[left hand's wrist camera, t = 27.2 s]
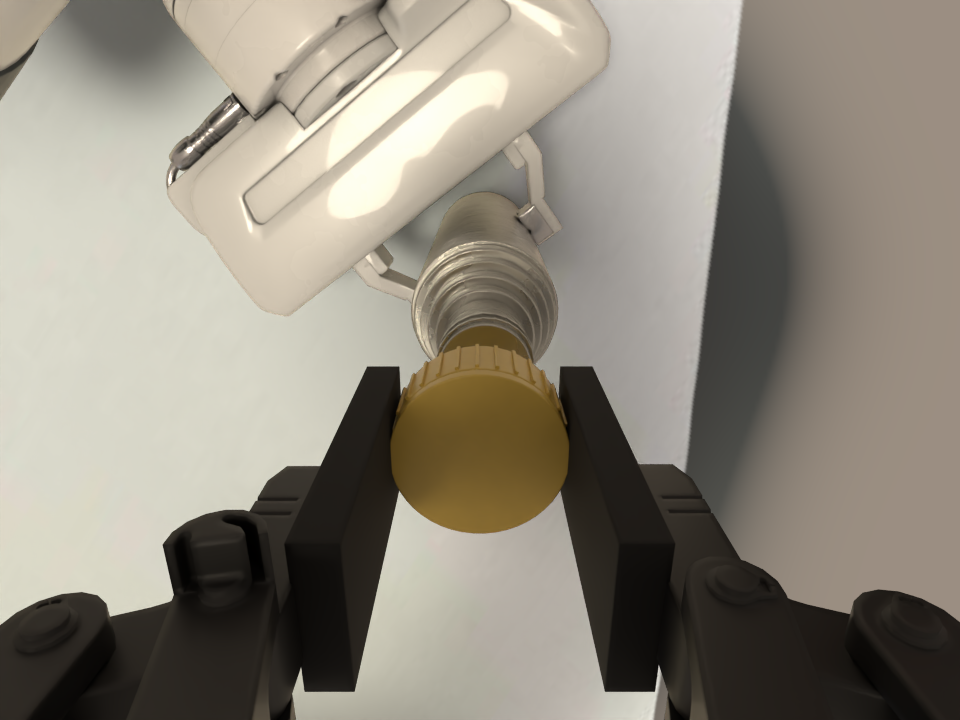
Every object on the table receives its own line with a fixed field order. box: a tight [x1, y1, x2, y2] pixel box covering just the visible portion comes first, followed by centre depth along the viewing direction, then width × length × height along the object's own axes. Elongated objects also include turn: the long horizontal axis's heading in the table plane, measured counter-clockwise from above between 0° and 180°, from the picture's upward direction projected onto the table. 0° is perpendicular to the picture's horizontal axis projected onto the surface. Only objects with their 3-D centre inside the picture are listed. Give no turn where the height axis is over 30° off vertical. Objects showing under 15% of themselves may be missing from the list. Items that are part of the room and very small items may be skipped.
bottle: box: [411, 192, 558, 364], centre depth 27 cm, size 5×5×21 cm
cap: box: [390, 344, 569, 533], centre depth 14 cm, size 4×4×2 cm
